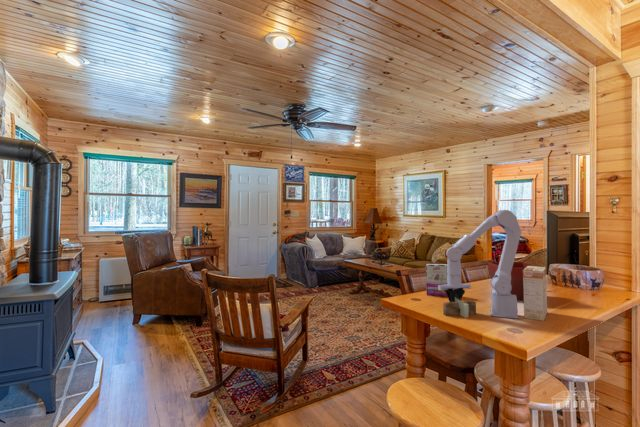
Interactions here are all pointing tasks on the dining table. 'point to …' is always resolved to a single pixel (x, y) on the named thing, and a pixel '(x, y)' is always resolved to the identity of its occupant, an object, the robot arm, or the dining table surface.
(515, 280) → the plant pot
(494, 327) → the dining table surface
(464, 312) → the sage plate
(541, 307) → the coffeecake box
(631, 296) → the dining table surface
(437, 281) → the candy bar box
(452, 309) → the base plate
